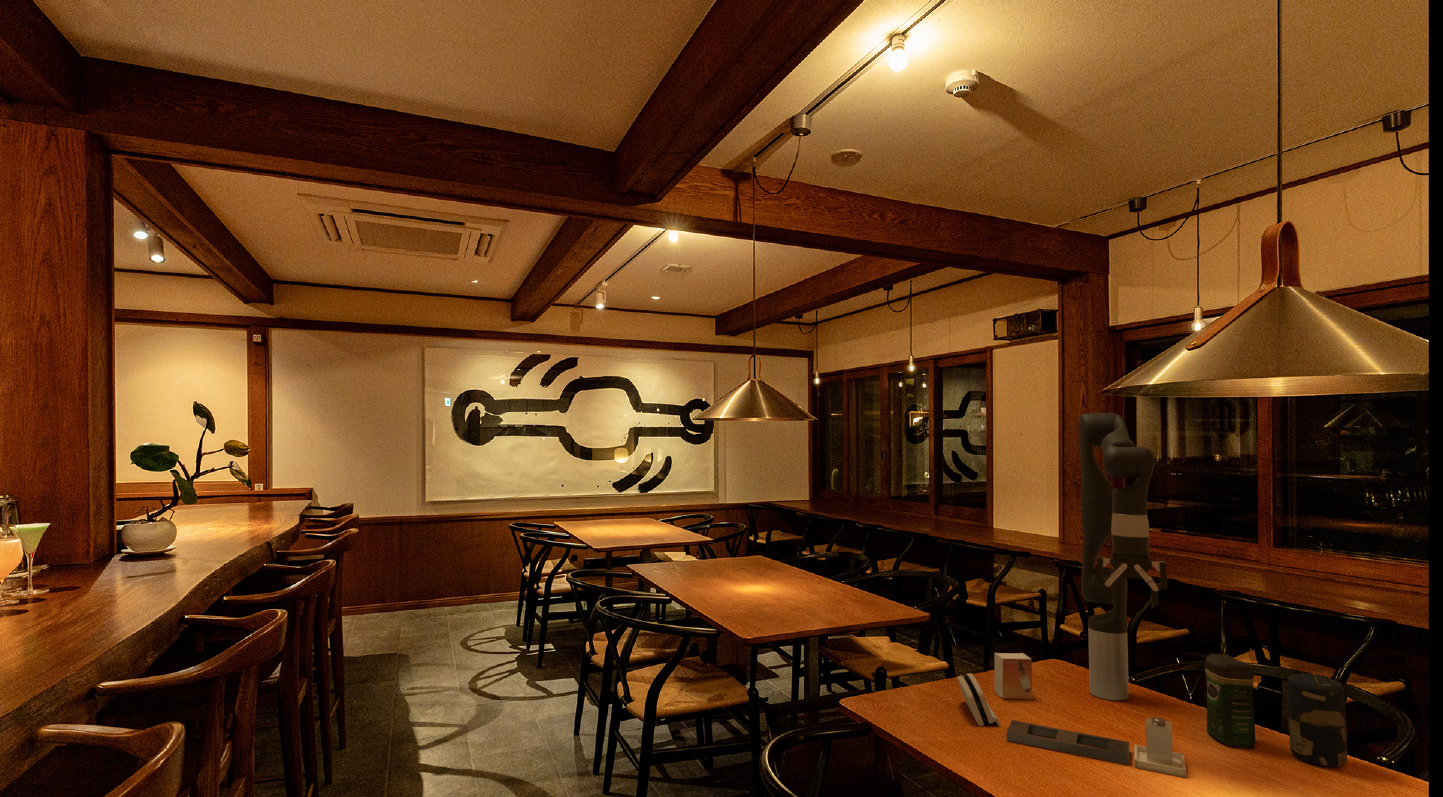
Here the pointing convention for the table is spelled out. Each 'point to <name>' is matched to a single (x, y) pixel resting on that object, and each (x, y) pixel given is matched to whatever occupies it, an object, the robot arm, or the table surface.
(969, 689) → the beige device enclosure
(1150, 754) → the grey rectangular block
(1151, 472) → the robot arm
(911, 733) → the table surface
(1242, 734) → the coffee jar
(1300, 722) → the canister
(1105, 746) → the rack rail
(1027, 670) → the small box
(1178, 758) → the parts tray
